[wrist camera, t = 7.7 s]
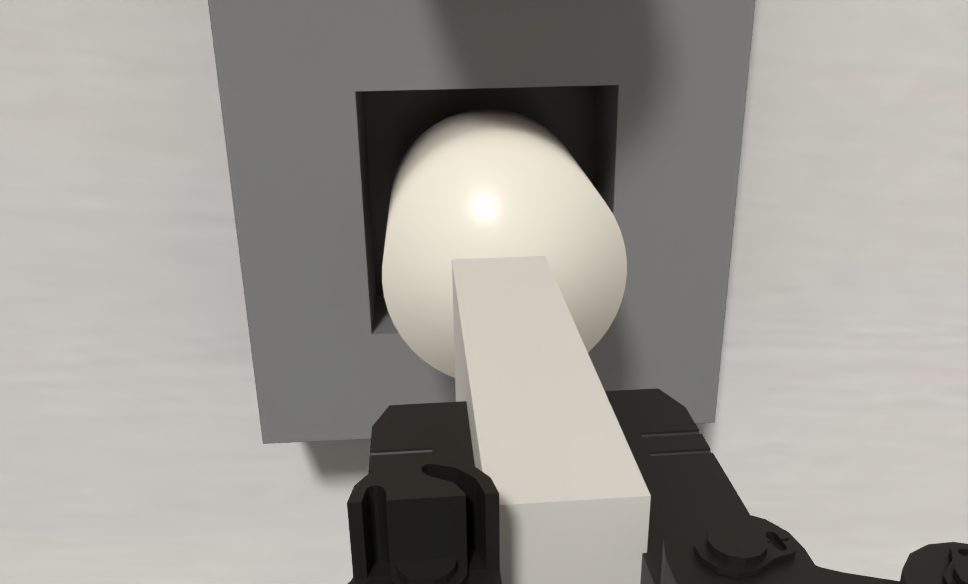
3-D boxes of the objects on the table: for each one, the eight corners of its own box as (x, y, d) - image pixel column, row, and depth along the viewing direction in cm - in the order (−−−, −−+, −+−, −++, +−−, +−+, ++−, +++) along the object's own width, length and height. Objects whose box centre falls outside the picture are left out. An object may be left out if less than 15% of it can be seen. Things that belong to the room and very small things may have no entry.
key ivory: (395, 299, 22) (388, 391, 18) (384, 111, 21) (374, 159, 16) (580, 292, 23) (621, 381, 18) (586, 106, 21) (632, 152, 16)
